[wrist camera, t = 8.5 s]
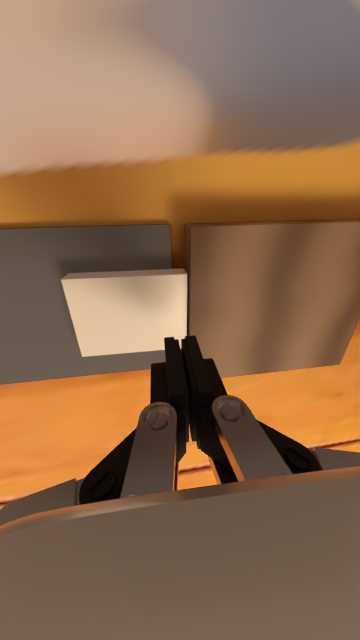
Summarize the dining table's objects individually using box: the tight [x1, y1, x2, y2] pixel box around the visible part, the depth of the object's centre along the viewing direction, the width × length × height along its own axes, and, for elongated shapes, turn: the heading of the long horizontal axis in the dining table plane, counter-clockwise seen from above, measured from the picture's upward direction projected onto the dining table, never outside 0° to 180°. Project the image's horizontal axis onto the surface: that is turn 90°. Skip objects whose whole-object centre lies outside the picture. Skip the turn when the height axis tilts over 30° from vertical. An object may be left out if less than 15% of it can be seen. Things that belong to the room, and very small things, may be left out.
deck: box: [184, 219, 360, 378], centre depth 17 cm, size 14×12×2 cm
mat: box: [0, 224, 172, 385], centre depth 16 cm, size 16×12×1 cm
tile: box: [61, 268, 187, 357], centre depth 16 cm, size 8×6×2 cm
